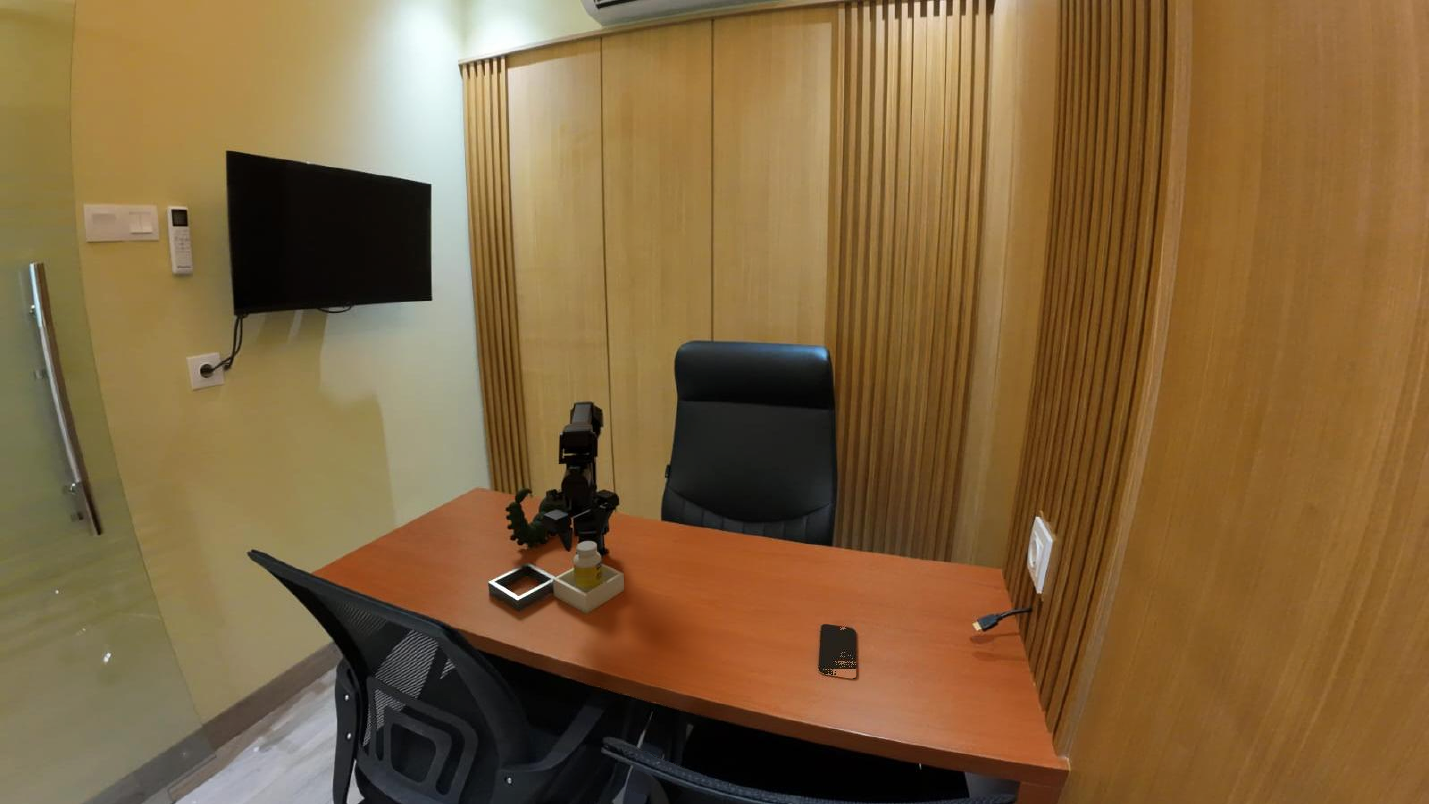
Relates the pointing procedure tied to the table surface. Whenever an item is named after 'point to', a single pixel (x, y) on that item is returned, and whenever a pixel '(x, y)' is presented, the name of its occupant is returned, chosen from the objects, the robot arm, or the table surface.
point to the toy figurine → (533, 530)
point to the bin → (593, 598)
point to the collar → (499, 584)
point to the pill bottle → (587, 567)
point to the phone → (836, 648)
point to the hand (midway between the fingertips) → (584, 543)
